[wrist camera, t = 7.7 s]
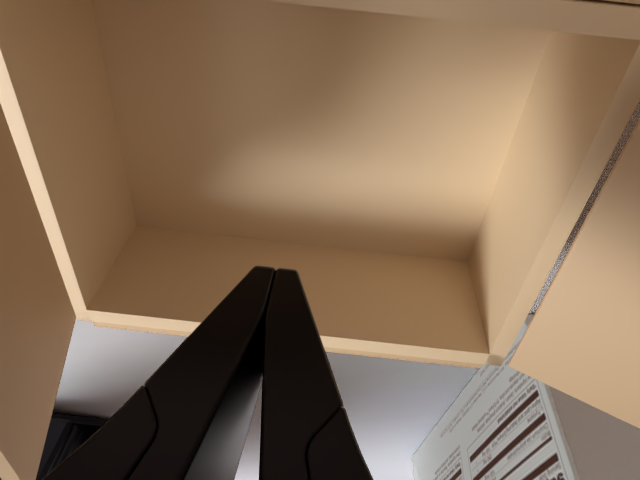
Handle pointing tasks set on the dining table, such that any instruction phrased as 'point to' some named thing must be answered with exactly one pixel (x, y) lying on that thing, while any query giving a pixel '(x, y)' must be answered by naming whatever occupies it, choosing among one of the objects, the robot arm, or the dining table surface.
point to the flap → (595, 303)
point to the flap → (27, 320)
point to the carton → (318, 155)
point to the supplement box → (525, 433)
